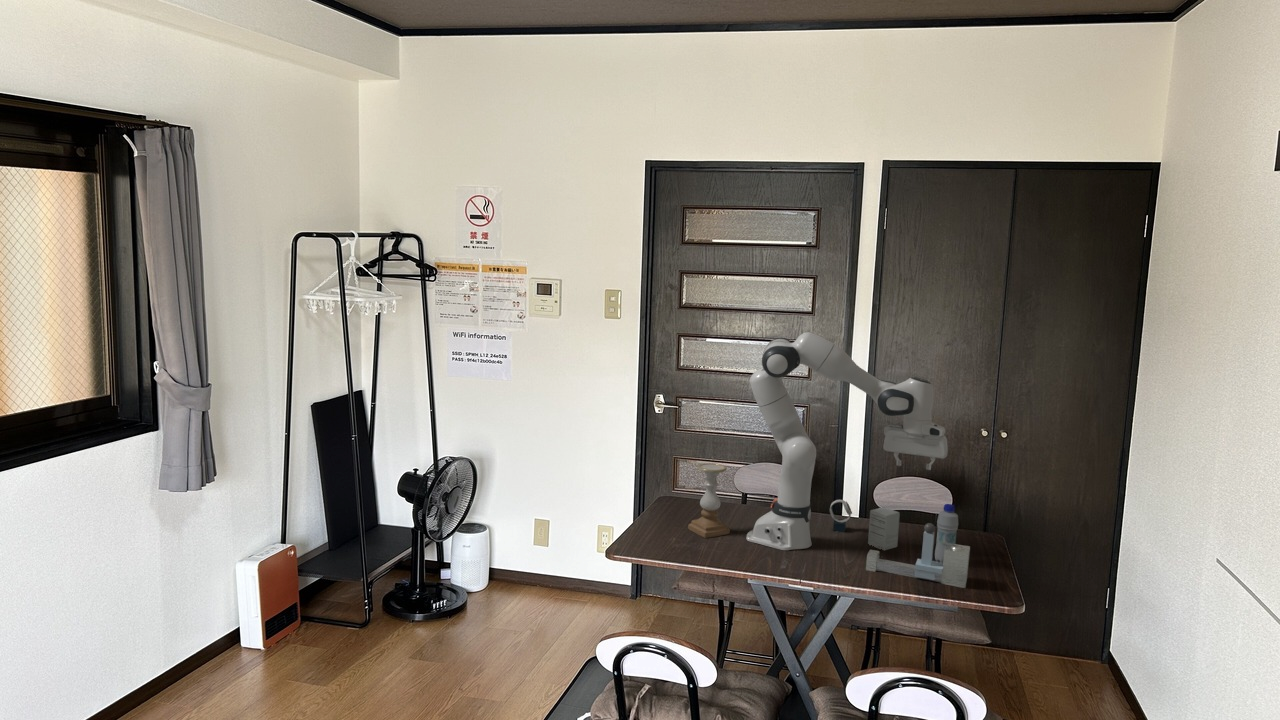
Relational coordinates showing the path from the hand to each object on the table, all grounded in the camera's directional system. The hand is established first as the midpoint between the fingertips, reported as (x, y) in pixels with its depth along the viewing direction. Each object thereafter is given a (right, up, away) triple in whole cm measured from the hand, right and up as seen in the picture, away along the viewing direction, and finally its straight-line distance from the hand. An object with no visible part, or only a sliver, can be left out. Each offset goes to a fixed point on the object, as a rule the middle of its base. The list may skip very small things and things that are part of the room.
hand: (913, 467), depth 282 cm
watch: (-17, -27, +31) cm, 44 cm away
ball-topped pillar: (0, -32, -14) cm, 35 cm away
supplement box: (-6, -30, +15) cm, 34 cm away
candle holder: (-66, -26, +22) cm, 75 cm away
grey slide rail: (-3, -33, -12) cm, 35 cm away
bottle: (+10, -32, +1) cm, 34 cm away
